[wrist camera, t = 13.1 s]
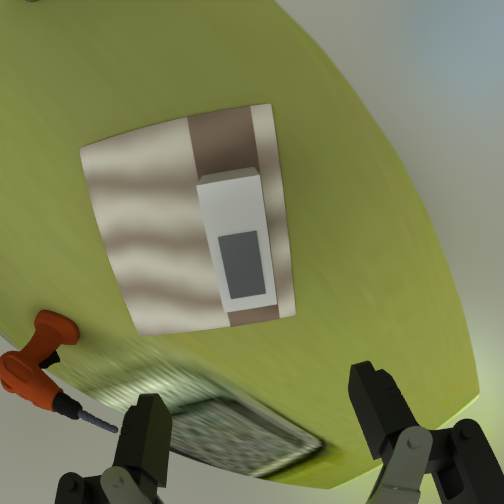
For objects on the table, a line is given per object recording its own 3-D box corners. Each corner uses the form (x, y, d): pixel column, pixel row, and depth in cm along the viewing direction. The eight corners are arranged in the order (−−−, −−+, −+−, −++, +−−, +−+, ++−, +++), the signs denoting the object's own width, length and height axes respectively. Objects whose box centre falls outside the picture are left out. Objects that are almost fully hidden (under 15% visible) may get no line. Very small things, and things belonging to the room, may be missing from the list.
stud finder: (202, 175, 27) (196, 186, 22) (254, 166, 27) (259, 175, 22) (224, 283, 32) (224, 314, 27) (269, 276, 32) (277, 305, 27)
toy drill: (146, 374, 37) (110, 457, 23) (43, 325, 35) (-10, 384, 21) (150, 352, 35) (108, 441, 21) (40, 301, 34) (-20, 360, 20)
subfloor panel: (84, 147, 26) (78, 148, 24) (269, 104, 26) (271, 103, 25) (142, 331, 35) (139, 337, 34) (293, 309, 35) (296, 315, 34)
